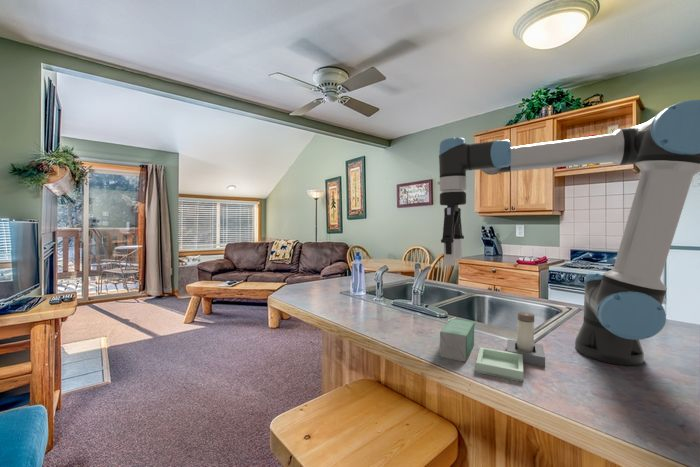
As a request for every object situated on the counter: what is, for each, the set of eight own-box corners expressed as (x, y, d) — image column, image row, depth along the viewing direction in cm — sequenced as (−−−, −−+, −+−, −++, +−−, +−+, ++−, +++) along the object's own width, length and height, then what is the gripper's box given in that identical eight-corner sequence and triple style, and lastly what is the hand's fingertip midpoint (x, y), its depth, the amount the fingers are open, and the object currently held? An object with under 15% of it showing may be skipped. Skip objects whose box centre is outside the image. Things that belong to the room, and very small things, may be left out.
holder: (542, 353, 91) (542, 344, 91) (544, 366, 83) (545, 357, 83) (507, 347, 95) (507, 339, 95) (506, 359, 87) (506, 350, 87)
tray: (522, 363, 85) (522, 354, 85) (523, 382, 76) (523, 371, 76) (480, 355, 90) (480, 347, 90) (476, 372, 81) (476, 362, 80)
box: (474, 344, 98) (474, 320, 97) (466, 362, 86) (466, 336, 85) (450, 340, 101) (450, 317, 101) (439, 357, 90) (439, 331, 89)
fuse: (532, 354, 90) (534, 313, 89) (533, 361, 86) (534, 317, 86) (516, 352, 92) (517, 311, 91) (516, 357, 88) (517, 315, 87)
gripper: (447, 194, 108) (448, 256, 109) (430, 190, 86) (431, 268, 87) (471, 193, 104) (471, 257, 105) (459, 188, 82) (460, 269, 83)
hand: (453, 262), depth 96 cm, fingers open, 13 cm apart
